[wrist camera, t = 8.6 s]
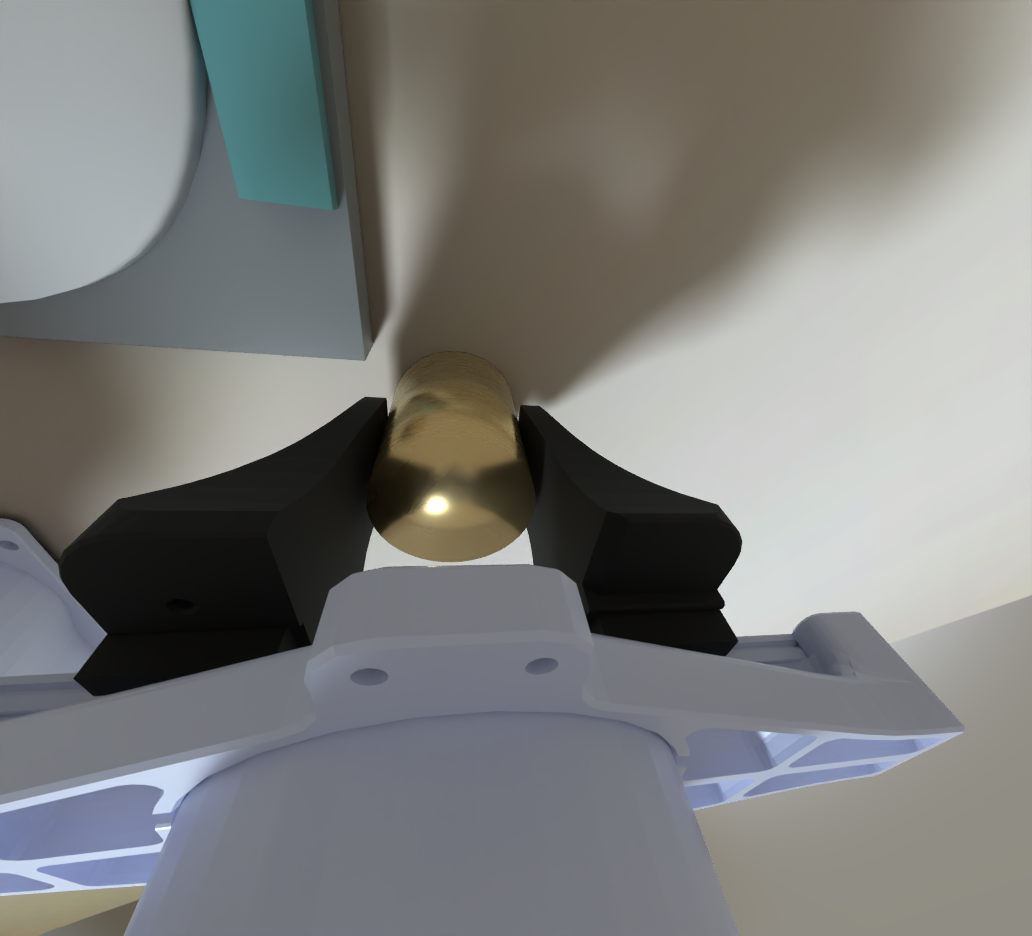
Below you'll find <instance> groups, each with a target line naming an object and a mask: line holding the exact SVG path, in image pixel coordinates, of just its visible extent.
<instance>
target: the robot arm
mask: <svg viewBox="0 0 1032 936" xmlns="http://www.w3.org/2000/svg"><path fill="white" fill-rule="evenodd" d="M387 419H388V411H387V400H386V398H376V397H364V398H362V399H361V400H359V401H358V402H357V403H355V404H354V405H352V406H351V407H350V408H348V409H347V410H346V411H344V412H343V413H341V414H340V415H339V416H337V417H336V418H334V419H333V420H332V421H330V422H329V423H327V424H326V425H324V426H322V427H321V428H319V429H318V430H316V431H314V432H313V433H311V434H310V435H308V436H306V437H305V438H303V439H301V440H299V441H298V442H296V443H294V444H292V445H290V446H288V447H286V448H284V449H282V450H280V451H278V452H276V453H274V454H271V455H269V456H267V457H264V458H262V459H259V460H257V461H254V462H251V463H249V464H246V465H244V466H241V467H239V468H236V469H233V470H230V471H228V472H224V473H221V474H218V475H215V476H212V477H209V478H205V479H202V480H198V481H195V482H191V483H188V484H184V485H180V486H176V487H172V488H167V489H163V490H159V491H154V492H150V493H145V494H141V495H137V496H132V497H127V498H122V499H118V500H117V501H116V502H115V503H114V504H113V505H112V506H111V507H109V508H108V509H107V510H106V511H105V512H104V513H103V514H102V515H101V516H100V517H99V518H98V519H97V520H96V521H95V522H94V523H93V524H92V525H91V526H89V527H88V528H87V529H86V530H85V531H84V532H83V533H82V534H81V535H80V536H79V537H78V538H77V539H76V540H75V541H74V542H73V543H72V544H71V545H70V546H68V547H67V548H66V549H65V550H64V552H63V554H62V556H61V558H60V560H59V562H58V564H57V563H56V562H55V561H54V560H53V559H52V557H51V556H50V555H49V554H48V553H47V552H46V551H45V550H44V548H43V547H42V546H41V545H40V544H39V543H38V542H37V540H36V539H35V538H34V537H33V536H32V535H31V534H30V533H29V531H28V530H27V529H26V528H25V527H24V526H23V525H21V524H20V523H18V522H16V521H13V520H10V519H3V518H0V896H5V895H18V894H32V893H46V892H60V891H73V890H87V889H101V888H115V887H128V886H142V885H146V886H145V888H144V890H143V893H142V895H141V897H140V899H139V902H138V904H137V906H136V908H135V911H134V913H133V915H132V918H131V920H130V922H129V924H128V927H127V929H126V931H125V933H124V936H740V935H739V932H738V930H737V927H736V924H735V921H734V919H733V916H732V914H731V911H730V908H729V905H728V903H727V900H726V897H725V895H724V892H723V889H722V887H721V884H720V881H719V879H718V876H717V873H716V871H715V868H714V865H713V862H712V860H711V857H710V854H709V851H708V849H707V846H706V843H705V841H704V838H703V835H702V833H701V830H700V827H699V824H698V822H697V819H696V816H695V814H694V811H693V810H698V809H702V808H707V807H712V806H716V805H721V804H725V803H730V802H735V801H740V800H744V799H749V798H754V797H758V796H763V795H768V794H773V793H777V792H782V791H788V790H793V789H797V788H802V787H808V786H813V785H819V784H825V783H830V782H836V781H843V780H849V779H856V778H863V777H870V776H876V775H879V774H881V773H883V772H885V771H887V770H889V769H891V768H893V767H895V766H897V765H899V764H901V763H903V762H905V761H907V760H909V759H911V758H913V757H915V756H917V755H919V754H921V753H923V752H925V751H927V750H929V749H931V748H933V747H935V746H937V745H939V744H941V743H943V742H945V741H947V740H949V739H951V738H953V737H955V736H957V735H959V734H961V733H963V732H964V725H963V724H962V723H961V722H960V721H959V720H958V719H957V718H956V717H955V715H953V714H952V712H951V711H950V710H949V709H948V708H947V707H946V706H945V705H944V703H943V702H942V701H941V700H940V699H939V698H938V697H937V696H936V695H935V694H934V693H933V692H932V690H931V689H930V688H929V687H928V686H927V685H926V684H925V683H924V682H923V681H922V680H921V679H920V677H919V676H918V675H917V674H916V673H915V672H914V671H913V670H912V669H911V668H910V667H909V666H908V664H907V663H906V662H905V661H904V660H903V659H902V658H901V657H900V656H899V655H898V654H897V653H896V651H895V650H894V649H893V648H892V647H891V646H890V645H889V644H888V643H887V642H886V641H885V639H884V638H883V637H882V636H881V635H880V634H879V633H878V632H877V631H876V630H875V629H874V627H873V626H872V625H871V624H870V623H869V622H868V621H867V620H866V619H865V618H864V617H863V616H862V614H861V613H859V612H833V613H819V614H814V615H811V616H809V617H807V618H805V619H804V620H802V621H801V622H800V623H799V624H798V625H797V626H796V628H795V629H794V630H793V633H792V634H780V635H761V636H743V637H736V636H735V634H734V632H733V631H732V629H731V627H730V626H729V624H728V623H727V621H726V619H725V618H724V616H723V614H722V613H721V611H720V609H723V607H724V606H725V602H724V600H723V598H722V597H721V595H720V593H719V592H718V590H717V589H718V587H719V586H720V585H721V583H722V582H723V580H724V579H725V577H726V576H727V574H728V573H729V571H730V570H731V569H732V567H733V566H734V564H735V562H736V560H737V558H738V556H739V554H740V552H741V546H742V539H741V536H740V533H739V531H738V530H737V528H736V527H735V526H734V525H733V523H732V522H731V521H730V520H729V518H728V517H727V516H726V514H725V513H724V512H723V511H722V509H721V508H720V507H719V506H718V505H717V504H713V503H710V502H707V501H704V500H700V499H697V498H694V497H690V496H687V495H684V494H681V493H678V492H675V491H672V490H670V489H667V488H664V487H662V486H659V485H657V484H654V483H652V482H650V481H647V480H645V479H643V478H641V477H639V476H637V475H635V474H633V473H630V472H628V471H626V470H625V469H623V468H621V467H619V466H617V465H615V464H614V463H612V462H610V461H609V460H607V459H606V458H604V457H602V456H601V455H599V454H598V453H596V452H595V451H593V450H592V449H591V448H589V447H588V446H586V445H585V444H584V443H582V442H581V441H580V440H579V439H577V438H576V437H575V436H574V435H572V434H571V433H570V432H569V431H568V430H567V429H565V428H564V427H563V426H562V425H561V424H560V423H559V422H557V421H556V420H555V419H554V418H553V417H552V416H551V415H550V414H549V413H547V412H546V411H545V410H544V409H543V408H541V407H540V406H529V405H521V406H520V413H519V420H518V424H519V428H520V432H521V436H522V440H523V444H524V448H525V452H526V457H527V461H528V465H529V469H530V473H531V477H532V481H533V485H534V489H535V498H536V501H535V509H534V512H533V516H532V518H531V520H530V522H529V524H528V526H527V531H528V534H529V539H530V544H531V549H532V556H533V564H534V565H530V564H517V565H460V566H402V567H384V568H378V569H373V570H368V571H363V569H364V563H365V558H366V552H367V548H368V544H369V540H370V536H371V533H372V530H373V527H374V526H373V524H372V523H371V520H370V518H369V516H368V512H367V508H366V493H367V488H368V484H369V481H370V478H371V474H372V471H373V467H374V464H375V460H376V457H377V453H378V450H379V447H380V443H381V440H382V436H383V433H384V429H385V426H386V423H387Z"/></svg>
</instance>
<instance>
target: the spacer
mask: <svg viewBox="0 0 1032 936" xmlns="http://www.w3.org/2000/svg"><path fill="white" fill-rule="evenodd" d="M535 501H536V498H535V489H534V485H533V481H532V477H531V473H530V469H529V465H528V461H527V457H526V452H525V448H524V444H523V440H522V436H521V432H520V428H519V424H518V420H517V416H516V412H515V407H514V403H513V399H512V395H511V391H510V389H509V386H508V384H507V382H506V380H505V379H504V377H503V376H502V375H501V373H500V372H499V371H498V370H497V369H496V368H495V367H494V366H492V365H491V364H490V363H488V362H487V361H485V360H483V359H482V358H479V357H477V356H475V355H472V354H468V353H463V352H451V351H448V352H439V353H436V354H432V355H429V356H427V357H424V358H422V359H421V360H419V361H417V362H416V363H414V364H413V365H412V366H411V367H410V368H409V369H408V370H407V371H406V372H405V373H404V375H403V376H402V377H401V379H400V381H399V383H398V385H397V388H396V392H395V395H394V398H393V402H392V405H391V409H390V412H389V416H388V419H387V423H386V426H385V429H384V433H383V436H382V440H381V443H380V447H379V450H378V453H377V457H376V460H375V464H374V467H373V471H372V474H371V478H370V481H369V484H368V488H367V493H366V508H367V512H368V516H369V518H370V520H371V523H372V524H373V526H374V527H375V529H376V530H377V532H378V533H379V534H380V535H381V536H382V537H383V538H384V539H385V540H386V541H387V542H388V543H390V544H391V545H393V546H394V547H396V548H397V549H399V550H401V551H403V552H405V553H407V554H410V555H412V556H415V557H418V558H422V559H426V560H431V561H439V562H462V561H468V560H474V559H478V558H482V557H485V556H488V555H490V554H493V553H495V552H497V551H499V550H501V549H503V548H505V547H506V546H508V545H509V544H510V543H512V542H513V541H514V540H515V539H516V538H518V537H519V536H520V535H521V533H522V532H523V531H524V530H525V529H526V527H527V526H528V524H529V522H530V520H531V518H532V516H533V512H534V509H535Z"/></svg>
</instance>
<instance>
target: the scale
mask: <svg viewBox="0 0 1032 936" xmlns="http://www.w3.org/2000/svg"><path fill="white" fill-rule="evenodd" d="M0 336H5V337H20V338H35V339H50V340H65V341H80V342H95V343H109V344H124V345H139V346H154V347H169V348H184V349H199V350H214V351H229V352H243V353H258V354H273V355H288V356H303V357H318V358H333V359H348V360H362V361H365V360H366V358H367V356H368V354H369V352H370V350H371V348H372V346H373V344H372V334H371V324H370V314H369V304H368V294H367V284H366V274H365V264H364V254H363V244H362V234H361V224H360V214H359V205H358V195H357V185H356V175H355V165H354V155H353V145H352V135H351V125H350V115H349V105H348V95H347V85H346V75H345V65H344V55H343V45H342V35H341V26H340V16H339V6H338V0H0Z"/></svg>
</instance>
